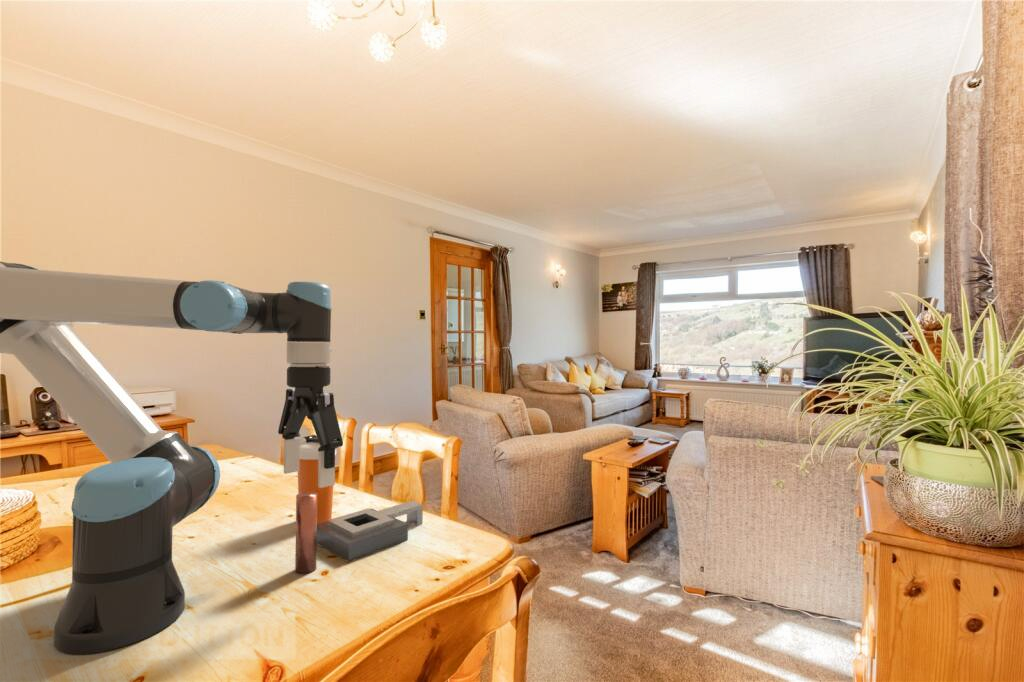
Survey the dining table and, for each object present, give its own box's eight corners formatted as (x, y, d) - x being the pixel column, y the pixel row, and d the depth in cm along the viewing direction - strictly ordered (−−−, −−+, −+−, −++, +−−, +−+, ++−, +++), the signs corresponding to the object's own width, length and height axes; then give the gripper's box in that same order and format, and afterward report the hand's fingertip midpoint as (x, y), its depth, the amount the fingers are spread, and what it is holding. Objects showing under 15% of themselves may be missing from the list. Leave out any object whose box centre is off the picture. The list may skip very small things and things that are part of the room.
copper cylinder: (300, 576, 86) (301, 499, 86) (291, 570, 88) (292, 494, 88) (319, 569, 89) (320, 494, 89) (310, 563, 91) (311, 490, 91)
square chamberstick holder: (348, 561, 92) (348, 543, 92) (313, 541, 101) (313, 525, 101) (407, 539, 102) (407, 523, 102) (371, 523, 111) (371, 508, 111)
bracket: (352, 555, 94) (352, 532, 95) (327, 541, 101) (327, 520, 101) (430, 526, 110) (430, 507, 110) (404, 516, 116) (404, 497, 116)
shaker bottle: (321, 529, 107) (322, 441, 107) (286, 526, 109) (287, 439, 109) (342, 515, 116) (344, 434, 116) (310, 512, 118) (311, 432, 118)
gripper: (363, 366, 83) (362, 487, 83) (298, 362, 100) (297, 463, 99) (323, 368, 78) (322, 497, 78) (260, 363, 94) (259, 470, 94)
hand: (308, 478), depth 88 cm, fingers open, 13 cm apart
